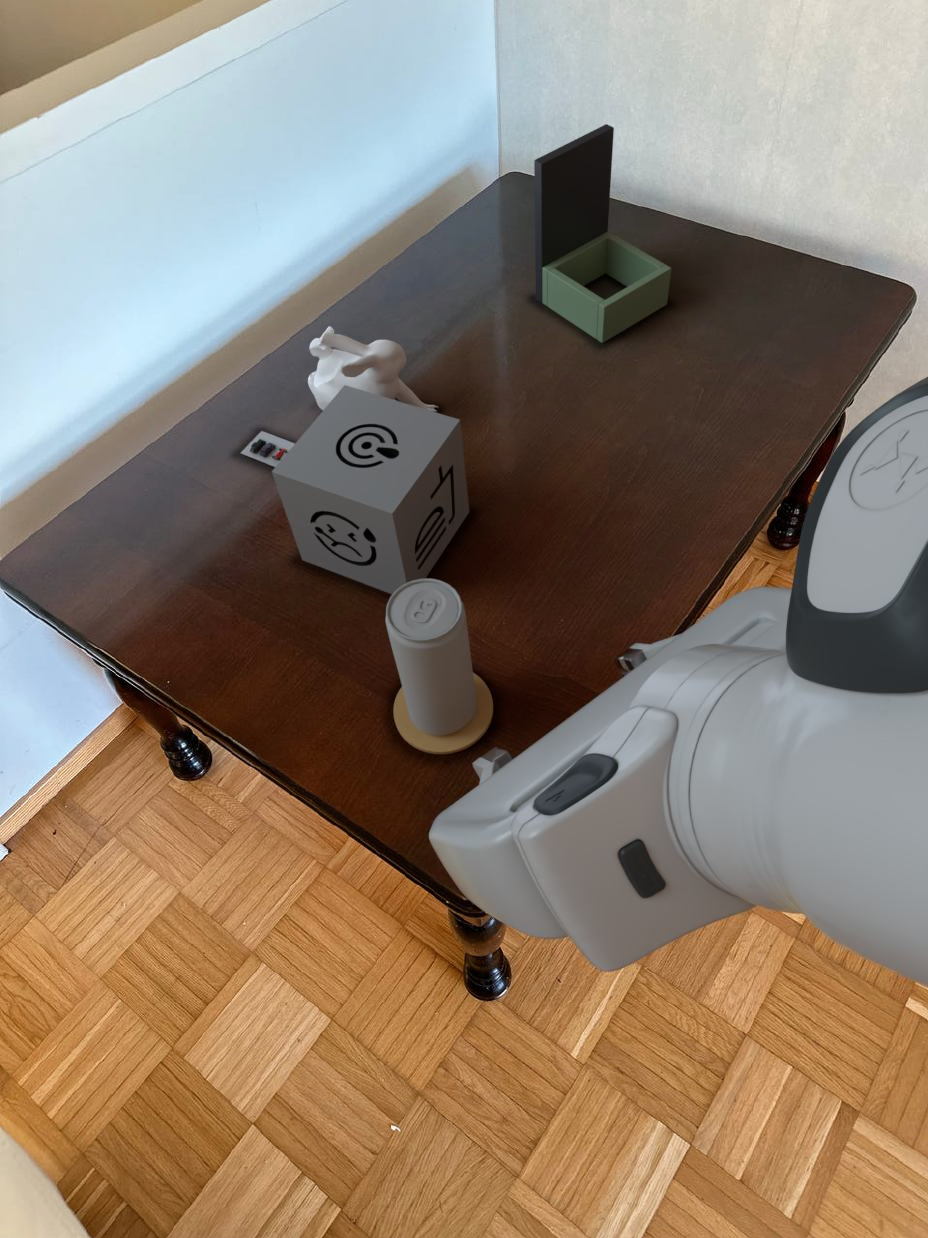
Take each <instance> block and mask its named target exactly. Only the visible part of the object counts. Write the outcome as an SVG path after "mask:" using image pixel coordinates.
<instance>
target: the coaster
mask: <svg viewBox="0 0 928 1238" xmlns="http://www.w3.org/2000/svg"><path fill="white" fill-rule="evenodd" d="M473 678H474V686H475V694H476V710H475V713H474V715H473V717H472V719H471V720H470V721H469V722H468V724H466V725H465V726H464V727H462V728H461V729H459V730H458V731H456V732H454V733H451V734H447V735H436V736H435V735H431V734H427V733H425V732H423V731H421V730H419V729H418V728H417V727H416V726H415V725H414V724H413V722H412V720H411V718H410V716H409V712H408V708H407V704H406V700H405V696H404V692H403V688H402V686H401V687H400V689H398V692H397V694H396V697H395V700H394V703H393V719H394V723H395V726H396V728H397V731H398V732H399V734H400V736H401V737H402V738H403V740H404V741H405V742H406V743H408V744H409V745H410V746H412V747H413V748H415V749H417V750H419V751H421V752H424V753H426V754H427V753H428V754H432V755H449V754H454V753H455V754H456V753H458V752H462V751H464V750H467V749H468V748H470V747H472V746H473V745H474V744H476V743H477V742H478V741H479V740H480V739H481V738H482V737H483V736H484V735H485V734H486V732H487V730H488V729H489V727H490V724H491V722H492V719H493V714H494V701H493V697H492V693H491V691H490V689H489V687H488V685H487V684H486V682H485V681H484V680H483V679H482V678H481V677H480V676H479V675H478V674H476V673H475V672H473Z"/></svg>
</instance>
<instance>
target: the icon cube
mask: <svg viewBox="0 0 928 1238" xmlns="http://www.w3.org/2000/svg"><path fill="white" fill-rule="evenodd" d="M294 443H295V445H294V446H293V447H292V448H291V449H290V450H289V452H288V453H287V454H286V455H285V456H284V458H283V459H282V460H281V461H280V462H279V463H278V465H277V466H276V467H274V468H273V469H272V470H271V474H272V477H273V480H274V483H275V486H276V489H277V492H278V494H279V498H280V501H281V504H282V507H283V509H284V512H285V515H286V517H287V520H288V523H289V526H290V529H291V532H292V535H293V538H294V541H295V543H296V544H295V545H296V546H297V549H298V552H299V555H300V558H301V561H303V562H306V563H309V564H311V565H314V566H316V567H319V568H322V569H325V570H327V571H330V572H332V573H335V574H337V575H340V576H343V577H346V578H348V579H351V580H353V581H356V582H358V583H361V584H364V585H366V586H369V587H372V588H374V589H377V590H379V591H382V592H384V593H387V594H389V595H392V594H393V593H394V592H395V591H396V590H397V589H398V588H400V587H401V586H402V585H404V584H406V583H408V582H410V581H413V580H418V579H427V576H428V575H429V574H430V573H431V571H432V569H433V568H434V567H435V564H436V563H437V562H438V560H439V558H440V557H441V556H442V555H443V553H444V551H445V549H446V548H447V546H448V545H449V544H450V542H451V540H452V539H453V537H454V536H455V534H456V533H457V531H458V530H459V528H460V527H461V525H462V524H463V522H464V521H465V520H466V518H467V516H468V515H469V513H470V505H469V495H468V494H469V493H468V486H467V485H468V484H467V483H468V482H467V474H466V465H465V455H464V446H463V445H464V444H463V435H462V426H461V419H459V418H457V417H456V418H455V417H452V416H449V415H447V414H446V415H445V414H442V413H440V412H432V411H429V410H426V409H422V408H419V407H416V406H413V405H409V404H406V403H403V402H401V401H400V400H396V399H395V400H393V399H389V398H386V397H383V396H379V395H376V394H373V393H369V392H366V391H363V390H359V389H356V388H353V387H349V386H346V385H344V386H343V388H342V389H341V390H340V391H339V392H338V394H337V395H336V396H335V397H334V398H333V400H332V401H331V402H330V403H329V404H328V405H327V407H326V408H325V409H324V410H321V413H320V414H319V415H318V416H317V417H316V418H315V419H314V421H313V422H312V423H311V425H310V426H309V427H308V428H307V429H306V430H305V431H304V433H303V434H302V435H301V436H300V437H299V438H298V440H297V441H296V442H294Z"/></svg>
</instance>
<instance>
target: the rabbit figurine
mask: <svg viewBox="0 0 928 1238" xmlns="http://www.w3.org/2000/svg"><path fill="white" fill-rule="evenodd" d="M308 347H309V352H310V354H311V355H312V356H313V357H316V358H318V359H319V360H318V362H317V365H316V370H315V371H313V372H311V373H309V375H308V378H307V384H308V388H309V390H310V391H311V393H312V395H313V396H314V400H315V401H316V405H317V406H318V407H319V409H320V410H321V411H323V410H324V409H325V408H326V407H327V405H328V404H329V403H330V402H331V401H332V400H333V398H334V397H335V396H336V395H337V394H338V392H339V391H340V390H341V389H342V388H343V386H344V385H346V386H349V387H353V388H356V389H359V390H363V391H366V392H369V393H373V394H376V395H379V396H383V397H386V398H389V399H393V400H396V399H397V401H399V402H403V403H406V404H409V405H413V406H416V407H419V408H422V409H426V410H429V411H432V412H436V413H438V410H436V408H437V409H439V406H438V405H435V404H427V403H425V402H423V401H421V400H420V399H419V397H418V396H417V395H416V394H415V392H413V390H411V389H410V388H409V386H407V385H406V384H405V383H404V382H403V380H401V379H400V378H399V373H400V372H401V370H402V369H403V368H404V367H405V366H406V364H407V356H406V353H405V350H404V349H403V346H401V345H400V344H399V343H397V342H395V341H394V340H389V339H376V340H374V341H373V342H371V343H369V344H365V343H362V342H359V341H358V340H355V339H353V338H351V337H349V336H347V335H345V334H339V333H337V334H336V333H335V329H334V328H333V327H332V326H328V327H327V328H326V329H325V330H324V332H323V333H322V335H321V336H320V337H315V338H314V339H312V340H311V342H310V343H309V346H308ZM332 348H334V349H332Z"/></svg>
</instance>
